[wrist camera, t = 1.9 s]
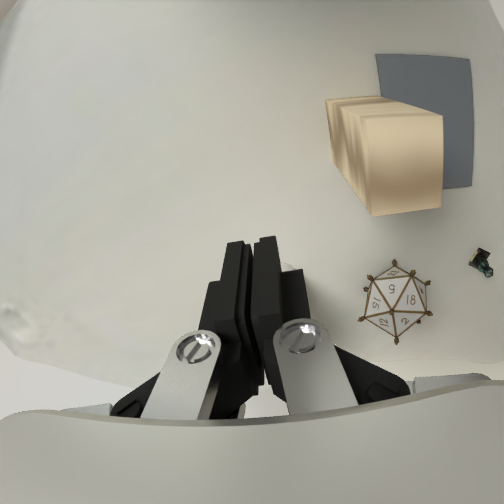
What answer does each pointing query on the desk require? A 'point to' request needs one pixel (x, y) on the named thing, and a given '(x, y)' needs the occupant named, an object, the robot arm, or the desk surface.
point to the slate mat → (436, 103)
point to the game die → (395, 301)
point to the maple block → (388, 152)
